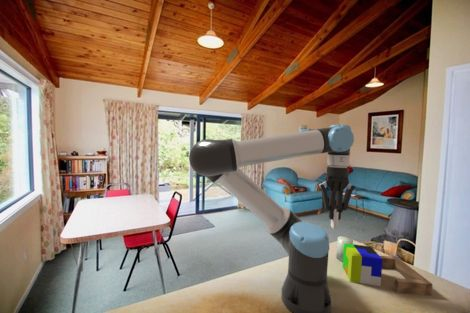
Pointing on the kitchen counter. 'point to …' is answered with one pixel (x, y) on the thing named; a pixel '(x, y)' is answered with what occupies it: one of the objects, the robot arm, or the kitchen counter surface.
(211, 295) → the kitchen counter surface
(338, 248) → the cream egg shape
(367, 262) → the puzzle toy
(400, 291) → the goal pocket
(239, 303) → the kitchen counter surface
